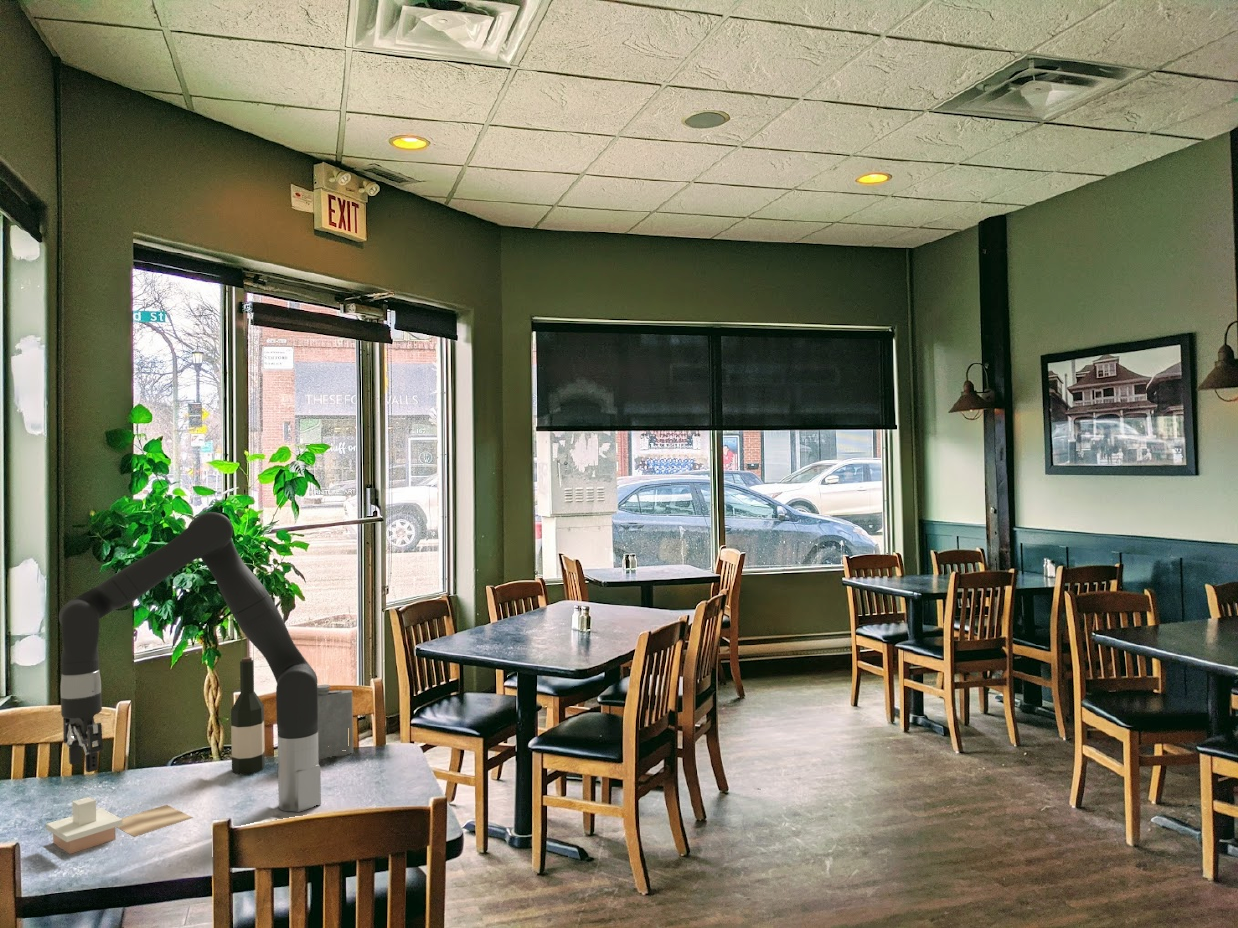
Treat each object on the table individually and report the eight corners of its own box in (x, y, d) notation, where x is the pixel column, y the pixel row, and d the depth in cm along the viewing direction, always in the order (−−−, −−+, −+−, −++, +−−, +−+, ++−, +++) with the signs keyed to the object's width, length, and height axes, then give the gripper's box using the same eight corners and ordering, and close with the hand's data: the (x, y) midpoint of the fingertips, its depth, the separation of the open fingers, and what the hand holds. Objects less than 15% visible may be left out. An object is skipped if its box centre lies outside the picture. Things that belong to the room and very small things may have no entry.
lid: (122, 824, 194) (122, 798, 194) (66, 842, 185) (66, 814, 185) (101, 812, 201) (100, 787, 201) (46, 829, 192) (45, 802, 192)
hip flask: (296, 764, 244) (295, 691, 244) (293, 760, 247) (291, 688, 247) (354, 753, 253) (353, 682, 252) (350, 749, 256) (349, 680, 256)
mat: (193, 821, 205) (193, 817, 205) (134, 841, 195) (134, 836, 195) (166, 808, 213) (166, 804, 213) (108, 826, 203) (108, 822, 203)
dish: (115, 843, 194) (115, 825, 194) (70, 858, 187) (69, 839, 187) (98, 833, 200) (97, 815, 199) (53, 847, 192) (52, 828, 192)
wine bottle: (253, 775, 236) (251, 661, 236) (224, 773, 237) (223, 660, 237) (271, 764, 244) (269, 655, 244) (244, 762, 246) (242, 654, 245)
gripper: (114, 693, 191) (116, 768, 192) (86, 684, 200) (88, 756, 200) (75, 701, 186) (78, 779, 186) (48, 691, 194) (51, 765, 194)
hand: (83, 767), depth 193 cm, fingers open, 8 cm apart
